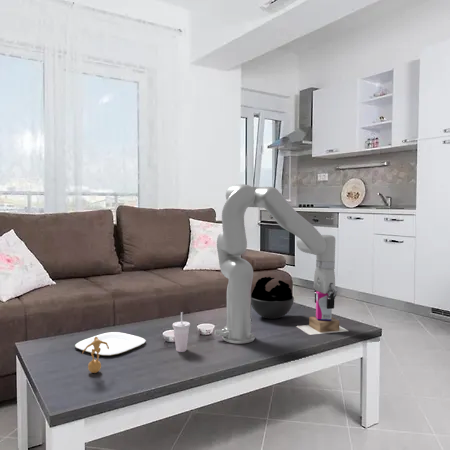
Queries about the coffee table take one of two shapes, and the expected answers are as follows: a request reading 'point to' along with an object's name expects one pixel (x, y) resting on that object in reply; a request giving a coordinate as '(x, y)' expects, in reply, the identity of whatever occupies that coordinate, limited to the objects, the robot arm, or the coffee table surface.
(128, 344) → the plate
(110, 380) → the coffee table surface
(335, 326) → the walnut block
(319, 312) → the supplement box
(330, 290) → the robot arm
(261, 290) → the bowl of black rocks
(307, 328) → the board
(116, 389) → the coffee table surface
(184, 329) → the smoothie
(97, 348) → the figurine
